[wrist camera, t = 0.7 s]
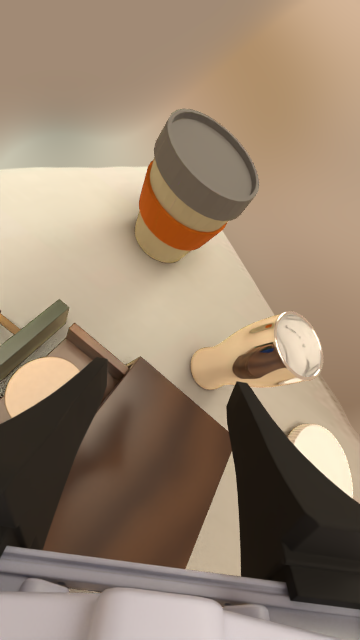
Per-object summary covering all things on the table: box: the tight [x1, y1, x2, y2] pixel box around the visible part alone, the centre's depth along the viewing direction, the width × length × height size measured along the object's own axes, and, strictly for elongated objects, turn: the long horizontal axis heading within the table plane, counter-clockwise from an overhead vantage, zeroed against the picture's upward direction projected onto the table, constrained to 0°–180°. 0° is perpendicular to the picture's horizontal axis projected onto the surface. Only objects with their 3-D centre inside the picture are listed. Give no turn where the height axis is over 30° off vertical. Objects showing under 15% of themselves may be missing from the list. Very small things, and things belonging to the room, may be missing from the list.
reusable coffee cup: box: [135, 109, 259, 263], centre depth 32 cm, size 13×12×15 cm
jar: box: [5, 357, 80, 418], centre depth 19 cm, size 5×5×8 cm
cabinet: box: [43, 356, 232, 569], centre depth 23 cm, size 14×15×7 cm
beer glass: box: [191, 311, 323, 390], centre depth 28 cm, size 7×7×15 cm
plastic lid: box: [288, 424, 353, 499], centre depth 35 cm, size 14×14×2 cm
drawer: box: [0, 299, 129, 424], centre depth 21 cm, size 17×13×5 cm
